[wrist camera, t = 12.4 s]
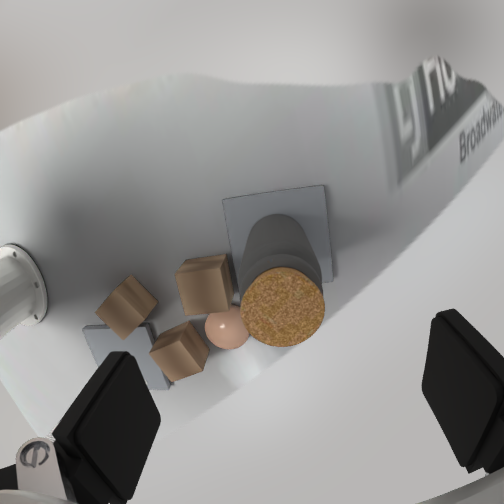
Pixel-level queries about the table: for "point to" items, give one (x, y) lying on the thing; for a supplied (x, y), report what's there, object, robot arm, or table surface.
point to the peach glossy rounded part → (226, 328)
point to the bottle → (280, 283)
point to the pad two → (136, 344)
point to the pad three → (287, 203)
